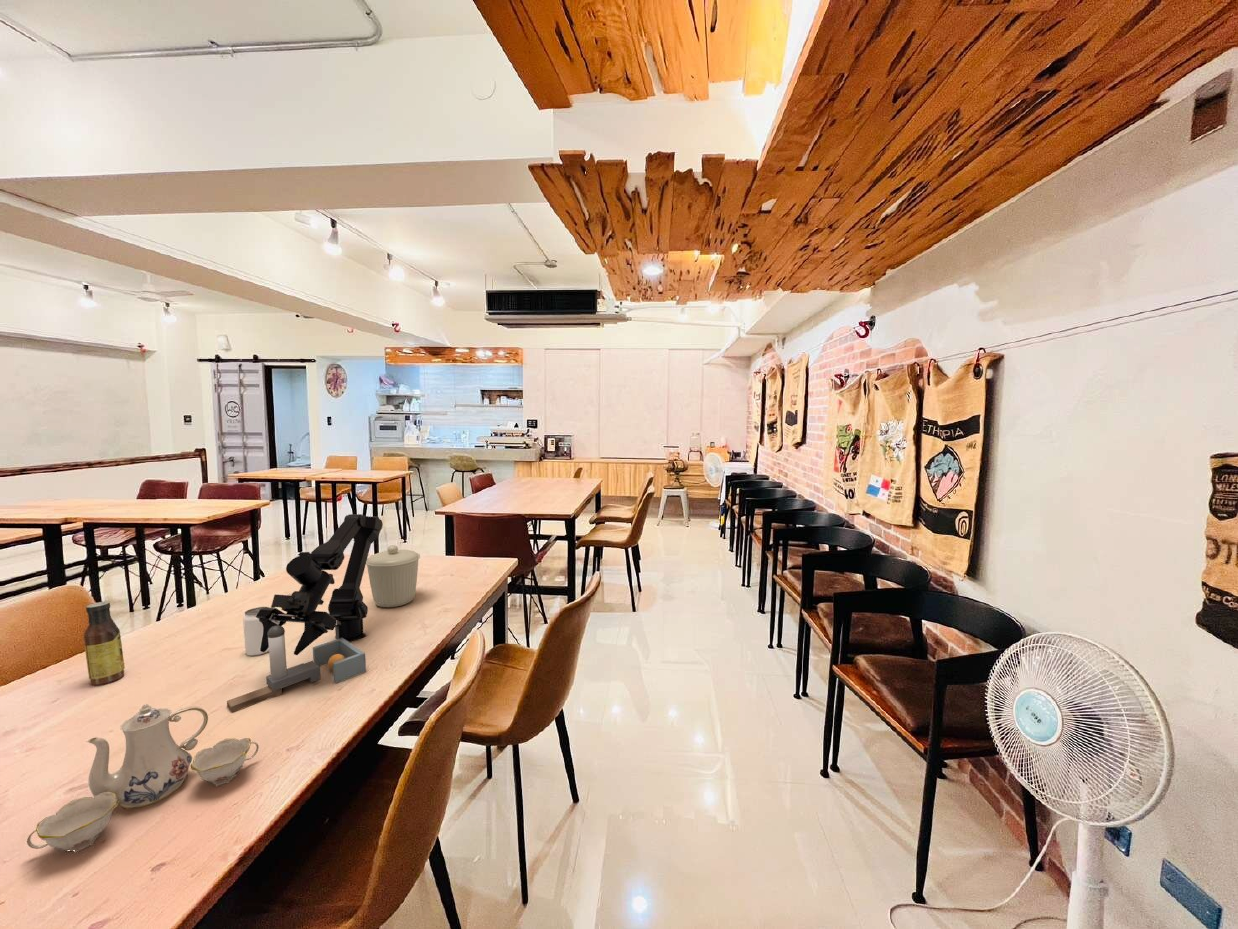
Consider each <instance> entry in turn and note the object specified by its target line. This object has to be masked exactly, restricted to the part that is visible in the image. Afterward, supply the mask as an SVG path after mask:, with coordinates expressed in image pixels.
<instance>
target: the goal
mask: <svg viewBox="0 0 1238 929" xmlns="http://www.w3.org/2000/svg"><path fill="white" fill-rule="evenodd" d="M335 654H341V655H343V656H344V657H345V659H342V660H340V661H337V662H334V663H333V670H332V674H333V680H332V681H333V683H334V684H338V683H341V682H344V681H346V680H348V679H350V678H354V677H356V676H358V674H359V675H360V674H363V673H366V672H367V664H366V663H367V662H366V661H367V660H366V653H365V652H364V651H363V650H362V649H360V648H358V647H357V646H355V645H353V643H351V642H348V641H346V640H345V639H344V638H339V639H337V638H335V639H334V640H331V641H328V642H324V643H322V644H319V645H315V646H313V647H312V661H313V662H314V663H315V664H317V665H318V666H321V665H324V664H328V661H329V659H330V657H332V656H333V655H335ZM320 664H321V665H320ZM345 679H346V680H345Z"/></svg>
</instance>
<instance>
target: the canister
mask: <svg viewBox="0 0 1238 929" xmlns="http://www.w3.org/2000/svg"><path fill="white" fill-rule="evenodd" d="M420 558H421V554H420V553H418V552H416V551H414V550H411V549H399V547H398V545H395V544H394V545H389V546H388V547H387V549H386V550H383V551H381V552H378V553H374V554H372V555H370V556H369V557H367V561H366V565H365V566H366V568H367V573H368V579H369V584H370V589H371V595H372V598H373V602H374V603H375V604H376V606H378V607H380V608H396V607H402V606H404V605H407V604H409V603H410V602H412V601H413V599H414V598H415V596H416V591H417V582H418V569H419V559H420Z"/></svg>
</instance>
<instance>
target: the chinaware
mask: <svg viewBox="0 0 1238 929" xmlns="http://www.w3.org/2000/svg"><path fill="white" fill-rule="evenodd" d="M188 711H189V712H190V711H198V712H199V713H201V714H202V716H203V721H202V725H201V726H200V728H199V729H198V730H197V731H196V732H195V733H194V734H193V735H192V736H190V737H189V738H187V739H185V740H183V741H182V742H181V743H180V744H178V743H176V741H175V740H174V737H173V736H172V734H171V730H170V724H169V723H170V722H171V723H173V722H175V723H178V722H180V721H181V719H182V716H180V715H179V714H182V713H186V712H188ZM208 721H209V715H208V713H207V711H206V710H205V709H204V708H202V707H200V706H188V707H184V708H182V709H179V710H177V711H175V712H173V713H172V709H169V708H167V707H166V708H162V707H161V708H156V707H153V706H152V705H149V704H148V703H144V704H142V706H141V708H140V709H139V710H138V712H137V713H136V714H135V715H133V716H131V717H130V718H128V719H126V720H124V721H123V723H122V724H121V725H120V726H119V727H120V730H121V731H122V732H123V734H124V738H125V753H124V758H123V762H122V765H121V767H120V768H119V769H118V770H117V771H115V772H112V773H109V764H110V763H109V762H110V744H109V742H108V741H107V739H105V738H103V737H92V738H89V740H88V741H87V743H88V744H89V743H90V744H92V745H94V747H95V748H96V752H95V755H94V758H93V762H92V764H91V768H90V771H89V775H88V780H87V782H88V788H89V790H90V792H91V794H92V796H87V797H86V796H84V797H83V796H82V797H79V798H76V799H74V800H71V801H70V802H68V803H66V804H64V805H63V806H62V807H60V809H59V810H58V811H56V812H55V814H52V815H49V816H46V817H45V818H43V819H42V820H40V821H39V822H38V823H37V824H36V828H35V829H34V830H33V831H32V832H31V833H30V834H29V835H28V837H27V839H26V844H27V846H28V847H30V848H31V849H36V850H37V849H42V848H44V847H45V848H46V847H47V846H49V847H51V849H52V848H53V849H54V850H61V851H62V850H63V851H64V850H65V851H67V850H70V851H73V850H75V852H74V854H76V852H77V851H78V850H80V851H82V850H84V849H86V848H87V847H90V846H92V845H94V842H95V841H96V839H97V838H98V837H99V836H100V834H101V833H102V832H103V830H104V829H106V827H107V825H108V824H109V822H110V820H111V818H112V814H113V810H114V809H115V808H117V806H118V805H119V806H120V807H121V808H123V809H128V810H129V809H133V810H134V809H138V808H143V807H146V806H149V805H153V804H155V803H157V802H159V801H161V800H163V799H165V798H167V797H168V796H170V795H171V794H173V793H175V792H176V791H177V790H178V789H179V788H180V787H182V785H183V784H184V783H185V779H186V776H187V774H188V772H189V769H190V770H191V771H195V772H196V773H197V774H198V776H199V778H201V779H202V780H204V781H206V782H209V783H210V784H213V785H215V787H218V786H222V785H225V784H228V783H230V782H231V781H232V780H233V779H234V778H235V777H236V776H237V774H236V773H237V772H239V771H240V769H242V768H243V767H244V763H245V762H246V761H248V760H251V759H252V758H254V757H255V756H256V755H257V753H258V751H259V747H260V746H259V744H258V742H256V741H251V738H249V737H248V738H247V737H245V738H244V737H243V738H242V739H237V738H235V737H231V738H224V739H223V740H220V741H218V742H217V743H216V744H214V745H213V746H212V747H208V748H204V749H202V750H200V751H198V752H197V753H196V755H194V757H193V756H192V754H191V753H189V752H188V751H192V750H193V749H194V748H195V747H196V746H197V745H198V739H196V738H197V737H198V736H199V735H201V734H202V732H203V731H204V730H205V729H206V727H207V725H208ZM251 744H255V747H256V749H255V751H254V753H253V754H252V755H251V756H248V755H247V754H248V752H249V750H250V747H251ZM247 756H248V757H247ZM35 833H36V834H37V837H38V838H40V839H41V840H42V841H45V843H46V844H42V845H36V844H34V843H32V841H31V839H32V836H33V834H35ZM89 845H90V846H89ZM81 849H82V850H81ZM78 852H79V851H78ZM78 852H77V853H78Z"/></svg>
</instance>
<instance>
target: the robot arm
mask: <svg viewBox="0 0 1238 929" xmlns="http://www.w3.org/2000/svg"><path fill="white" fill-rule="evenodd" d="M383 523H384V522H383V521H382V519H380V517H379V516H369V515H368V516H367V515H364V514H361V513H360V514H359V513H358V514H357V513H355V514H352V513H350V514H346V515H345V517H344V520H343V521H342V523H341V524H340V525H339V527H338V528H337V529H336V531H335V532H334V533H333V534H332V536H330V538H329V539H328V540H327V542H324V543H322V544H321V543H320V544H318V545H317V546H316V547H315V548H314V549H313V550H312V551H311V553H310V551H301V552H300V554H299V555H298V556H295V557H294V558H292V559H291V560H290V561H289V562H288V563H287V564H286V567H285V570H286V573H287V574H288V575H289V576H290V577H291V578H293V579H294V581H296V582H297V584H299V585H301V587H300V588H299V590H294V591H293V592H292V594H289V595H287V594H274V595H273V599H272V601H271V602H272V603H271V606H270V607H269V608H266V607H267V606H264V607H265V608H262V609H260V611H259V612H258V614H257V616H256V618H258V619H259V622H261V623H262V625H263V637H262V643H261V648H260V651H261V652H265V651H266V650H267V649H268V647H269V642H268V635H267V634H268V631H269V629H270V628H271V627H273V626H276V625H279V626H282V627H283V625H286V624H287V622H288V623H301V624H304V627H303V628H304V629H303V633H302V634H301V636H300V638H299V641H298V642H297V644H296V646H295V649H294V651H293V655H295V656H298V655H299V654H301V653H302V652H303V651H304V650H305V649H306V648H308V646H310V645H312V643H313V642H315V641H316V640H318V638H320V637H321V636H323V635H324V634H327V633H328V632H329V631H334V630H335V639H339V638H344V639H345V640H346V641H348V642H349V643H351V642H353V641H355V640H358V638H359V639H361V638H363V637H366V636H367V634H366V633H365V632H364V619H366V618H367V616H368V612H369V610H368V609H369V607H368V606H367V605H366V603H365V602H364V600H363V599H364V595H363V593H362V591H361V584H362V579H363V576H364V572H365V568H366V566H367V565H366V561H367V559H368V558H369V557H368V556H369V553H370V549H371V545H372V544H373V543H374V542H375V541H376V540H377V539H378V538H379V536H380V533H381V530H382V529H383V526H384V525H383ZM353 540H354V541H353ZM352 541H353V545H352V548H351V552H350V555H349V559H348V563H347V566H346V569H345V573H344V576H343V581H342V584H341V585H340V586H339V587H338V588H334V589H333V590H332V594H331V597H330V599H329V603H328V606H327V610H328V611H320V610H317V608H318V607H319V605H320V606H323V604H324V602H325V601H324V599H323V596H324V595H325V592H327V589H328V587H329V586H330V585H335V578H334V575H333V573H328V572H327V571H336V570H338V569H339V568H340V567H341V566H342V564H343V562H344V560H345V553H344V552H345V550H346V549H347V548H348V546H349V544H350V543H351V542H352ZM278 608H280V609H278ZM283 611H284V612H283ZM285 612H286V613H285Z"/></svg>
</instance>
